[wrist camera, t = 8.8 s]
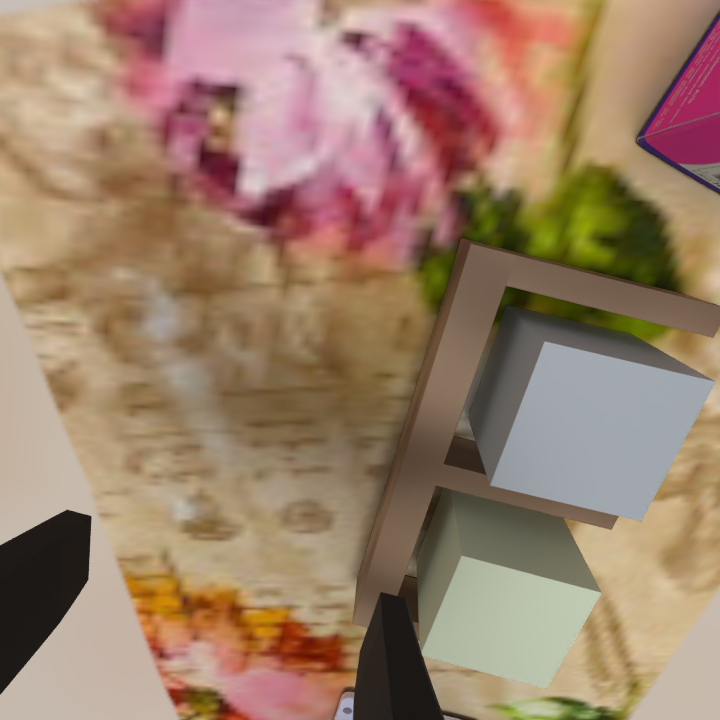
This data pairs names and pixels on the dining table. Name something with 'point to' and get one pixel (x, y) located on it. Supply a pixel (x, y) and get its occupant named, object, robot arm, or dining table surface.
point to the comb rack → (452, 384)
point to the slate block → (582, 413)
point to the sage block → (500, 588)
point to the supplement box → (691, 116)
